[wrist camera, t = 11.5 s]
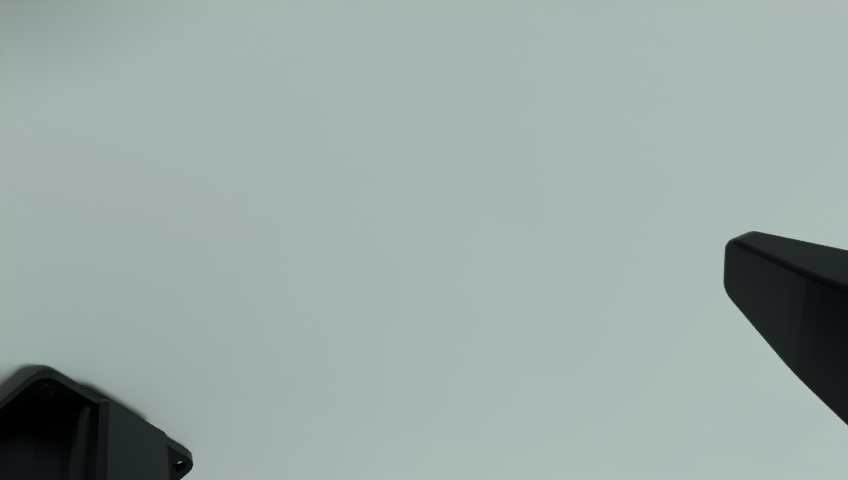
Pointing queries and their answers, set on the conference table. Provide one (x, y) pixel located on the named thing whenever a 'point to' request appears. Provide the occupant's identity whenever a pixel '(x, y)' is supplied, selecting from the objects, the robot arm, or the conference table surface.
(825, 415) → the conference table surface
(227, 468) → the conference table surface
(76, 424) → the robot arm
